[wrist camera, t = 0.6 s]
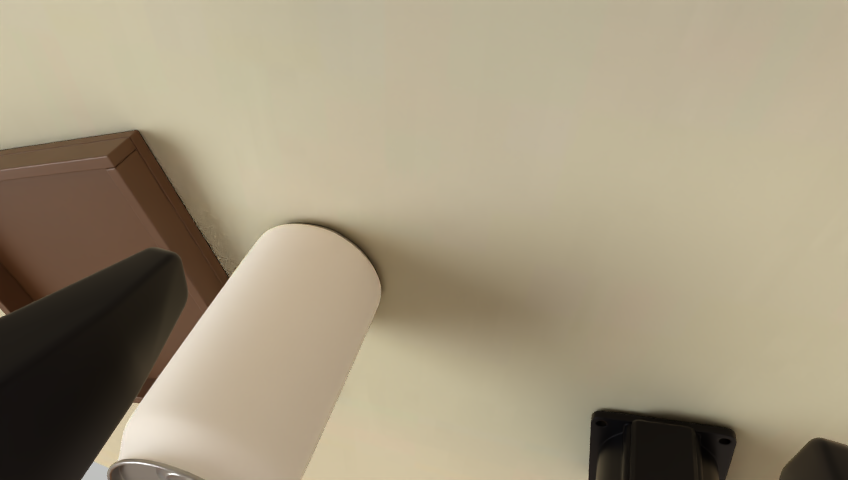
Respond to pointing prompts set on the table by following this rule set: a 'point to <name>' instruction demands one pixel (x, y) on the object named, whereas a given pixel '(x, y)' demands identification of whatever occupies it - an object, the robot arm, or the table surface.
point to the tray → (96, 224)
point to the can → (258, 365)
